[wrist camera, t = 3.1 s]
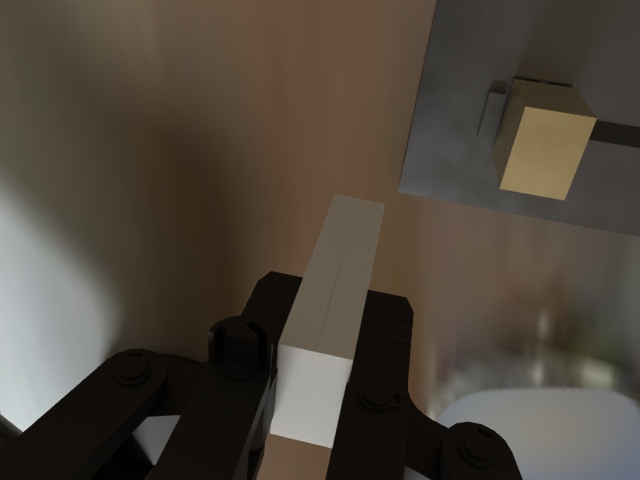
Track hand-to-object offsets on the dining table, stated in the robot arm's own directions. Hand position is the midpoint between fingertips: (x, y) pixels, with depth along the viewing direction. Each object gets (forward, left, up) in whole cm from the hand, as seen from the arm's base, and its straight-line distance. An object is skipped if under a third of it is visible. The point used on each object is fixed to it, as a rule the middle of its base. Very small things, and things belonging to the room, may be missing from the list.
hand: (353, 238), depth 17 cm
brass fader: (+7, 0, -15) cm, 17 cm away
